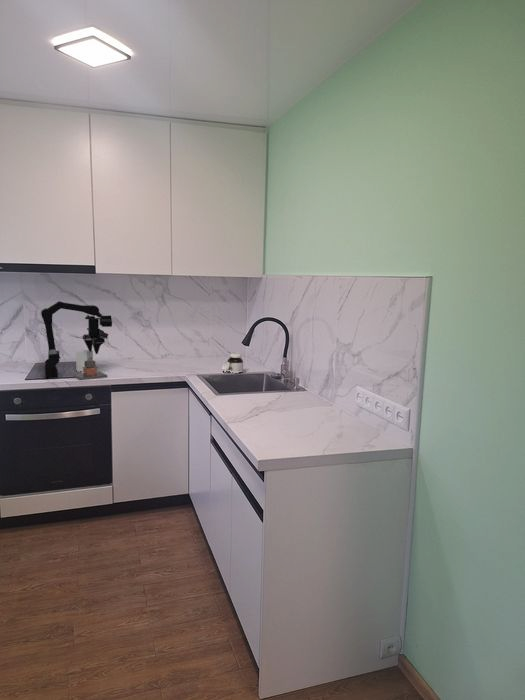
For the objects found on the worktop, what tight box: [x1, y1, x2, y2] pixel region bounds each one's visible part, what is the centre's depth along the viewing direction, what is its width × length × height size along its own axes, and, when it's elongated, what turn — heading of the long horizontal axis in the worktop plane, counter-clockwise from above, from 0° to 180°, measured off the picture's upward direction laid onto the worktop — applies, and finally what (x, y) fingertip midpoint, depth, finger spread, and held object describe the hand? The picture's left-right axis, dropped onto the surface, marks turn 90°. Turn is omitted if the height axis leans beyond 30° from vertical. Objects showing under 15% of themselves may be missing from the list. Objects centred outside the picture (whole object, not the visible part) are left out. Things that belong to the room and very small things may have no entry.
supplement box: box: [75, 349, 94, 373], centre depth 298 cm, size 7×7×13 cm
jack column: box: [85, 359, 96, 368], centre depth 280 cm, size 5×4×8 cm
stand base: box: [72, 365, 108, 381], centre depth 280 cm, size 16×12×6 cm
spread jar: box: [221, 353, 244, 372], centre depth 308 cm, size 12×11×12 cm
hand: (93, 352), depth 286 cm, fingers open, 9 cm apart
